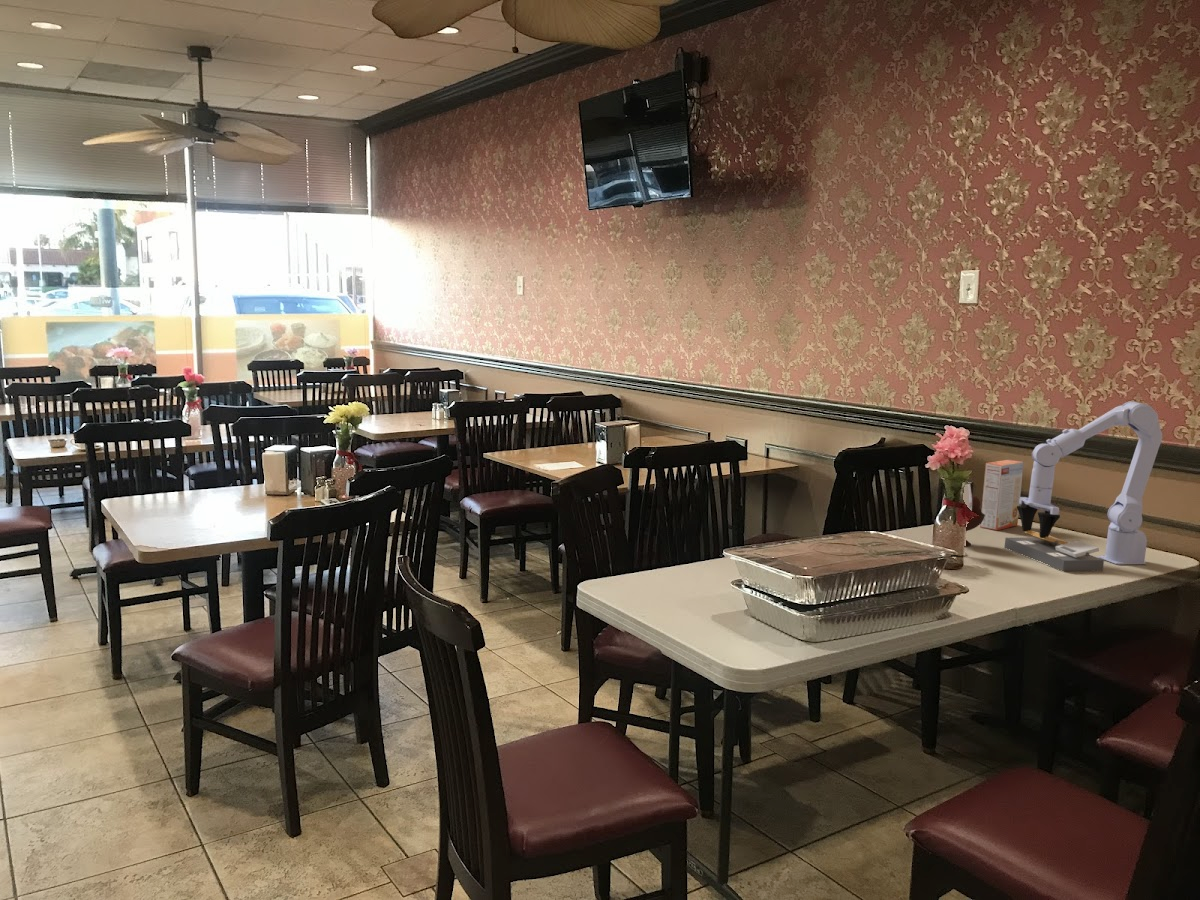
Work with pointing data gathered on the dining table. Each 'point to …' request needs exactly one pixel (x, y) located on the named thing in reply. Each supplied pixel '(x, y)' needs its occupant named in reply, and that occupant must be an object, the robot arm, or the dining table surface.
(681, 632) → the dining table surface
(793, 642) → the dining table surface
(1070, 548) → the rocker
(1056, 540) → the plate
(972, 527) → the ice cream bowl
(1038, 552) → the rocker switch panel
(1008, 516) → the cracker box
